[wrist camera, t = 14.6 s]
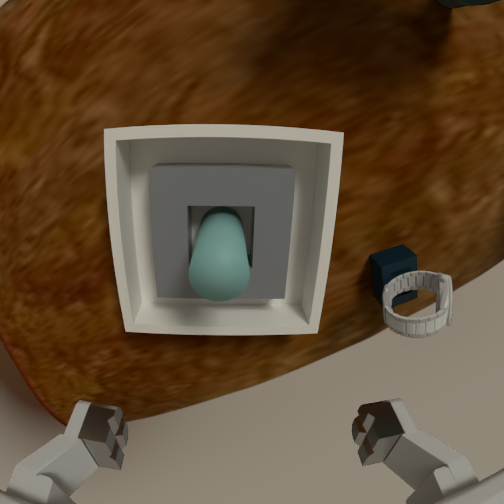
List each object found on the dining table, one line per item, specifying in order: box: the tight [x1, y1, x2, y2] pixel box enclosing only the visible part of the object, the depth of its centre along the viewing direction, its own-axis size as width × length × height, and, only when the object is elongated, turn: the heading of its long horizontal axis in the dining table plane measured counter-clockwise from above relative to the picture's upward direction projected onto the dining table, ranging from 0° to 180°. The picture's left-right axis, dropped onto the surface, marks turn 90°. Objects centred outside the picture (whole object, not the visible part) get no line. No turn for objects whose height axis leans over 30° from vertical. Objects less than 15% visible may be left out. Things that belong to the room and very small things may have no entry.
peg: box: [188, 206, 250, 302], centre depth 25 cm, size 4×4×10 cm
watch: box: [370, 244, 453, 338], centre depth 29 cm, size 6×8×11 cm
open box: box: [104, 124, 344, 335], centre depth 29 cm, size 19×19×5 cm
